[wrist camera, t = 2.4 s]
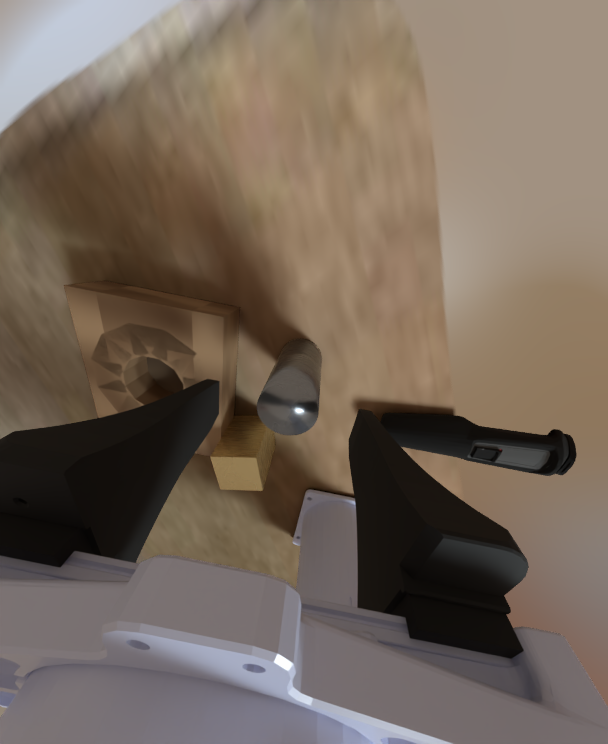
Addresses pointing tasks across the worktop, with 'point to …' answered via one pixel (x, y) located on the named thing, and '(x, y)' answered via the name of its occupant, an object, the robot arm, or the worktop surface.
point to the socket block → (154, 347)
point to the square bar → (244, 454)
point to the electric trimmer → (483, 442)
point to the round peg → (292, 389)
